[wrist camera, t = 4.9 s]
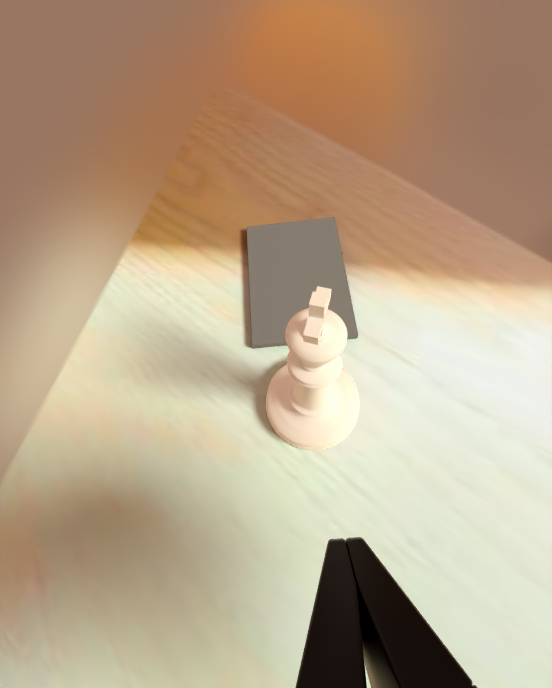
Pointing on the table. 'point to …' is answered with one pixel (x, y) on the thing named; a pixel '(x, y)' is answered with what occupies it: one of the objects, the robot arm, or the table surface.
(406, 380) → the table surface
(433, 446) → the table surface
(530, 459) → the table surface
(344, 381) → the chess piece
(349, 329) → the slate mat
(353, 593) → the robot arm
